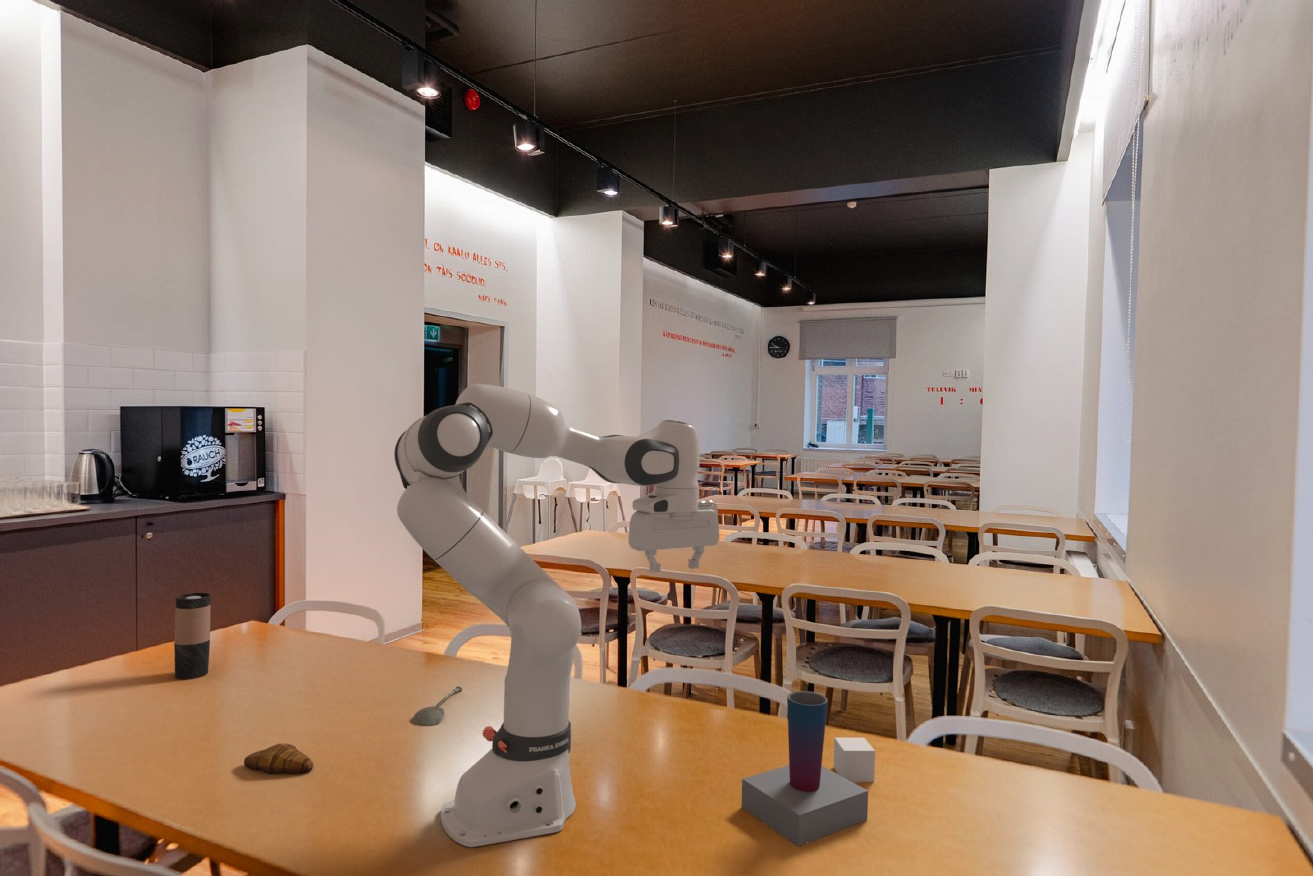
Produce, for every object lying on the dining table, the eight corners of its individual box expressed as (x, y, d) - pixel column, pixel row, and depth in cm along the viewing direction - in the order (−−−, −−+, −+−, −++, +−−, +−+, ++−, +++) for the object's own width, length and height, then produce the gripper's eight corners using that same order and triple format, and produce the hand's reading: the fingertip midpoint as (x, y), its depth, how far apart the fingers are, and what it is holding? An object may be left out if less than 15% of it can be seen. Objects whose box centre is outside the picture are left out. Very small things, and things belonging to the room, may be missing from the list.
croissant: (322, 765, 141) (323, 739, 140) (300, 782, 134) (301, 754, 134) (258, 758, 142) (258, 733, 142) (233, 775, 136) (233, 747, 136)
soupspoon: (406, 730, 160) (435, 734, 159) (407, 715, 159) (436, 718, 159) (446, 691, 181) (472, 694, 181) (447, 677, 181) (473, 680, 181)
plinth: (798, 846, 117) (799, 815, 117) (741, 807, 129) (742, 779, 129) (867, 820, 126) (868, 790, 126) (808, 785, 137) (809, 758, 137)
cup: (825, 796, 123) (828, 707, 123) (784, 792, 124) (786, 703, 124) (824, 778, 130) (826, 692, 130) (784, 773, 131) (787, 689, 131)
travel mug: (215, 673, 188) (217, 595, 188) (183, 682, 182) (184, 600, 182) (199, 668, 192) (201, 591, 192) (167, 675, 186) (169, 596, 186)
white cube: (863, 768, 146) (864, 737, 146) (874, 782, 140) (875, 750, 140) (833, 767, 145) (834, 737, 145) (842, 782, 139) (844, 750, 139)
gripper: (708, 498, 157) (706, 563, 157) (625, 501, 146) (623, 571, 146) (726, 501, 152) (724, 568, 152) (642, 504, 141) (640, 577, 141)
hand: (674, 570), depth 149 cm, fingers open, 8 cm apart
